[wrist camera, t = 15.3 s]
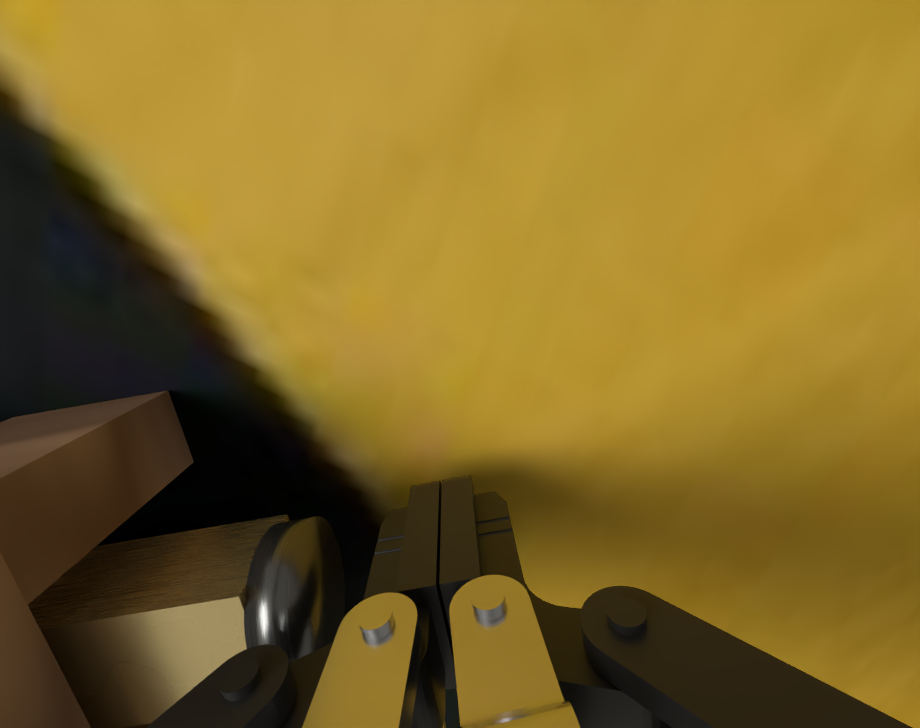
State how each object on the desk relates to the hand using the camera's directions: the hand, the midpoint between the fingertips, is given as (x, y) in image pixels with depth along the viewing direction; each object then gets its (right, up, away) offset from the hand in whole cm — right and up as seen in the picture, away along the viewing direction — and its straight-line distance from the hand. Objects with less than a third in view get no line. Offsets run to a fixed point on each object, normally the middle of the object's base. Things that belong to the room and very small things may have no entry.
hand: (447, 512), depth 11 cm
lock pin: (-8, -2, -1) cm, 9 cm away
